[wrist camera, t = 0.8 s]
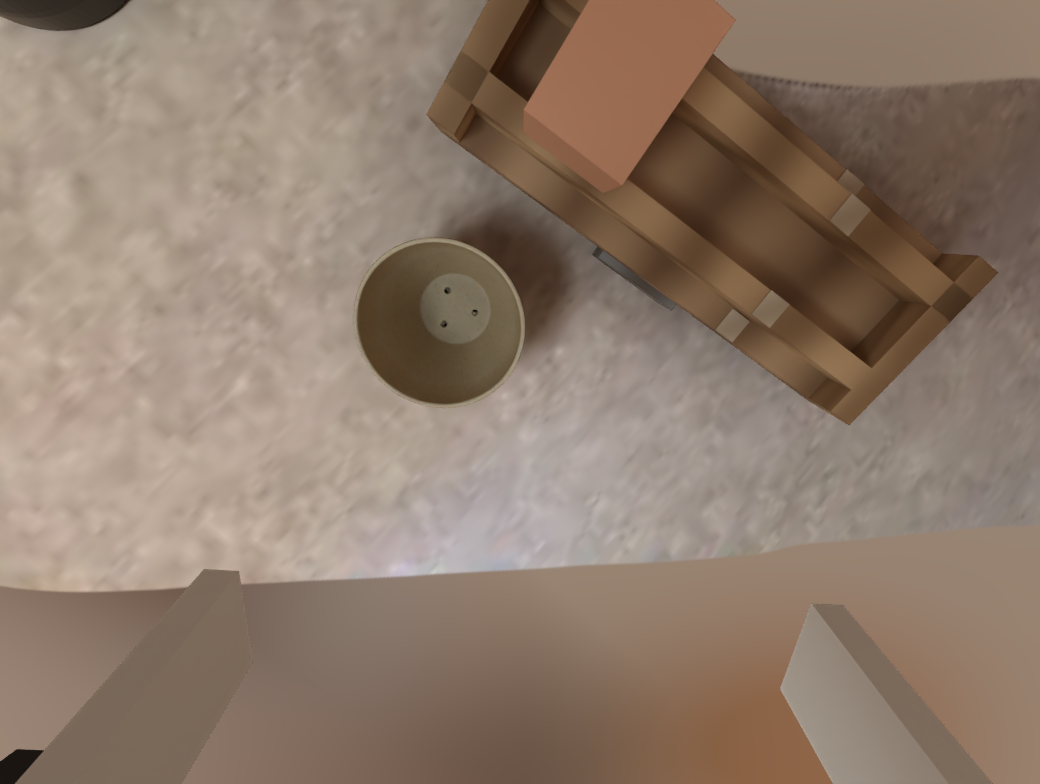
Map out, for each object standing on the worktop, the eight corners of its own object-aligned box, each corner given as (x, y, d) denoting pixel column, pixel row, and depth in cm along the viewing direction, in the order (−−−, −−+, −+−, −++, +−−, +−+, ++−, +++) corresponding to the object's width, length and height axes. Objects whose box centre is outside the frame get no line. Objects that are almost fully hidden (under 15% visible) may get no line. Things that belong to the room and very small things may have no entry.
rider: (523, 140, 26) (523, 109, 19) (600, 13, 24) (632, -73, 17) (596, 196, 27) (622, 185, 20) (676, 77, 25) (735, 19, 18)
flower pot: (474, 205, 32) (461, 200, 26) (550, 330, 35) (557, 354, 28) (357, 285, 34) (316, 300, 27) (438, 398, 37) (419, 436, 30)
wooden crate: (443, 147, 31) (421, 123, 24) (550, -43, 28) (560, -136, 21) (781, 392, 37) (844, 432, 29) (903, 257, 33) (1007, 265, 26)
